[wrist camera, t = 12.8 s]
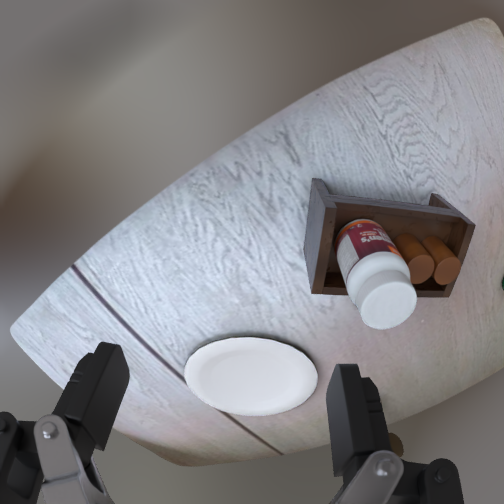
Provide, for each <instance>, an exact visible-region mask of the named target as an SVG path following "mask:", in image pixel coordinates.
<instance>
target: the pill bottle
mask: <svg viewBox="0 0 504 504" xmlns="http://www.w3.org/2000/svg"><path fill="white" fill-rule="evenodd" d="M334 250H335V255H336V258H337V261H338V264H339V267H340V270H341V273H342V276H343V279H344V282H345V285H346V288H347V292H348V294H349V297H350V299H351V301H352V302H353V303H354V304H355V305H356V306H357V308H358V310H359V312H360V315H361V318H362V320H363V321H364V323H365V324H366V325H368V326H369V327H371V328H374V329H388V328H392V327H395V326H397V325H399V324H400V323H402V322H403V321H405V320H406V319H407V318H408V317H409V316H410V315H411V314H412V312H413V310H414V309H415V306H416V303H417V295H416V291H415V289H414V287H413V285H412V283H411V281H410V271H409V268H408V266H407V264H406V263H405V261H404V259H403V258H402V256H401V254H400V253H399V251H398V250H397V248H396V247H395V245H394V244H393V242H392V241H391V239H390V238H389V236H388V235H387V234H386V232H385V231H384V229H383V228H382V227H381V226H380V225H379V224H378V223H376V222H374V221H372V220H368V219H358V220H354V221H352V222H350V223H348V224H347V225H345V226H344V227H343V228H342V229H341V230H340V231H339V233H338V235H337V237H336V239H335V244H334Z"/></svg>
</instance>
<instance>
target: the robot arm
mask: <svg viewBox="0 0 504 504" xmlns="http://www.w3.org/2000/svg"><path fill="white" fill-rule="evenodd" d="M129 377H130V373H129V368H128V365H127V362H126V359H125V356H124V354H123V351H122V348H121V346H120V345H118V344H112V343H107V342H100V343H99V345H98V346H97V348H96V350H95V352H94V353H88V354H86V355H85V356H84V357H83V358H82V359H81V360H80V361H79V362H78V364H77V366H76V368H75V370H74V373H73V374H72V376H71V377H70V379H69V380H70V381H69V382H68V383H67V385H66V387H65V389H64V391H63V393H62V395H61V397H60V399H59V401H58V403H57V405H56V407H55V409H54V411H53V412H52V414H51V415H46V416H43V417H41V418H40V419H39V420H38V421H37V422H34V421H17V420H16V418H15V417H14V416H13V415H12V414H11V413H9V412H0V504H36V503H37V499H38V496H39V492H40V489H41V491H42V494H43V498H44V501H45V504H115V503H114V502H113V501H112V499H111V498H110V496H109V494H108V492H107V490H106V488H105V485H104V483H103V481H102V478H101V476H100V473H99V471H98V468H97V466H96V463H95V461H94V458H93V456H92V454H93V451H94V448H95V449H99V450H102V451H104V449H105V446H106V443H107V440H108V437H109V434H110V432H111V429H112V426H113V424H114V421H115V418H116V415H117V413H118V410H119V407H120V404H121V402H122V399H123V396H124V394H125V391H126V389H127V386H128V383H129ZM326 404H327V413H328V421H329V430H330V440H331V449H332V460H333V471H334V477H337V476H343V482H344V484H343V486H342V487H341V488H340V490H339V491H338V493H337V494H336V495H335V496H334V498H333V499H332V501H331V502H330V503H329V504H464V500H463V494H462V489H461V483H460V479H459V474H458V470H457V467H456V466H455V464H453V462H451V461H450V460H448V459H443V458H440V459H436V460H434V461H432V462H431V463H430V464H420V463H413V462H407V461H404V460H402V459H401V458H400V457H399V456H398V455H396V454H395V453H394V451H393V449H392V447H391V443H390V438H389V434H388V430H387V425H386V421H385V417H384V413H383V408H382V404H381V402H380V396H379V393H378V389H377V387H376V386H375V384H374V383H373V382H372V380H371V379H370V378H369V377H366V378H361V375H360V371H359V367H358V365H357V364H336V366H335V368H334V371H333V374H332V377H331V380H330V382H329V385H328V388H327V393H326ZM44 478H45V481H44V482H43V479H44ZM42 482H43V483H42Z"/></svg>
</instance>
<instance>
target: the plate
mask: <svg viewBox="0 0 504 504" xmlns="http://www.w3.org/2000/svg"><path fill="white" fill-rule="evenodd" d="M317 378H318V373H317V371H316V368H315V366H314V363H313V362H312V361H311V360H310V359H309V358H308V357H307V356H306V355H305V354H304V353H303V352H301V351H299V350H298V349H296V348H294V347H293V346H291V345H289V344H285V343H282V342H279V341H276V340H273V339H267V338H260V337H252V336H250V337H230V338H226V339H221V340H217V341H213V342H211V343H209V344H207V345H205V346H203V347H201V348H199V349H198V350H197V351H195V352H194V353H193V354H192V355H191V356H190V357H189V359H188V361H187V363H186V366H185V380H186V382H187V384H188V387H189V388H190V390H191V391H192V392H193V393H194V394H195V395H196V396H197V397H198V398H199V399H201V400H202V401H203V402H205V403H206V404H208V405H210V406H212V407H214V408H216V409H219V410H221V411H225V412H228V413H232V414H236V415H244V416H267V415H273V414H278V413H282V412H285V411H288V410H290V409H293V408H295V407H296V406H298V405H300V404H302V403H303V402H305V401H306V400H307V399H308V398H309V397H310V396H311V395H312V393H313V392H314V390H315V388H316V386H317Z"/></svg>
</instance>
